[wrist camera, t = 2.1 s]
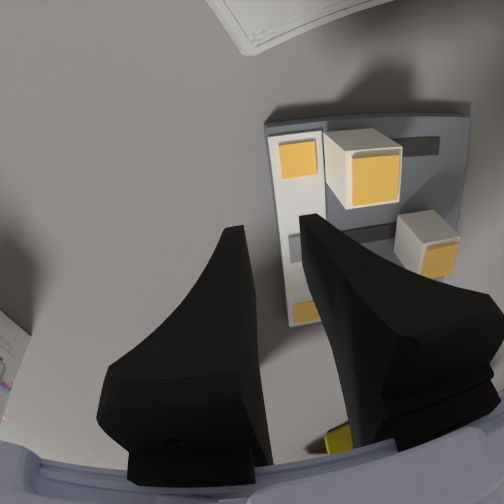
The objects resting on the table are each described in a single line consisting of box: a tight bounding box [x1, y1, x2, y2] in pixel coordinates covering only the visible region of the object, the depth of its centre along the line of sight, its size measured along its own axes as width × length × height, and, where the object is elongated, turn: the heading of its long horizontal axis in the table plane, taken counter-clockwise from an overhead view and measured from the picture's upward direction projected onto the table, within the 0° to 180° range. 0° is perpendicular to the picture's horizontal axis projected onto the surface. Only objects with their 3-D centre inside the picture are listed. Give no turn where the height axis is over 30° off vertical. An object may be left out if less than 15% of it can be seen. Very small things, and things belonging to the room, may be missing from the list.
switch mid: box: [393, 210, 461, 279], centre depth 19 cm, size 3×3×4 cm
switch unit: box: [264, 112, 470, 329], centre depth 21 cm, size 14×16×2 cm
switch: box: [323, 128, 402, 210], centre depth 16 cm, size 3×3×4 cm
